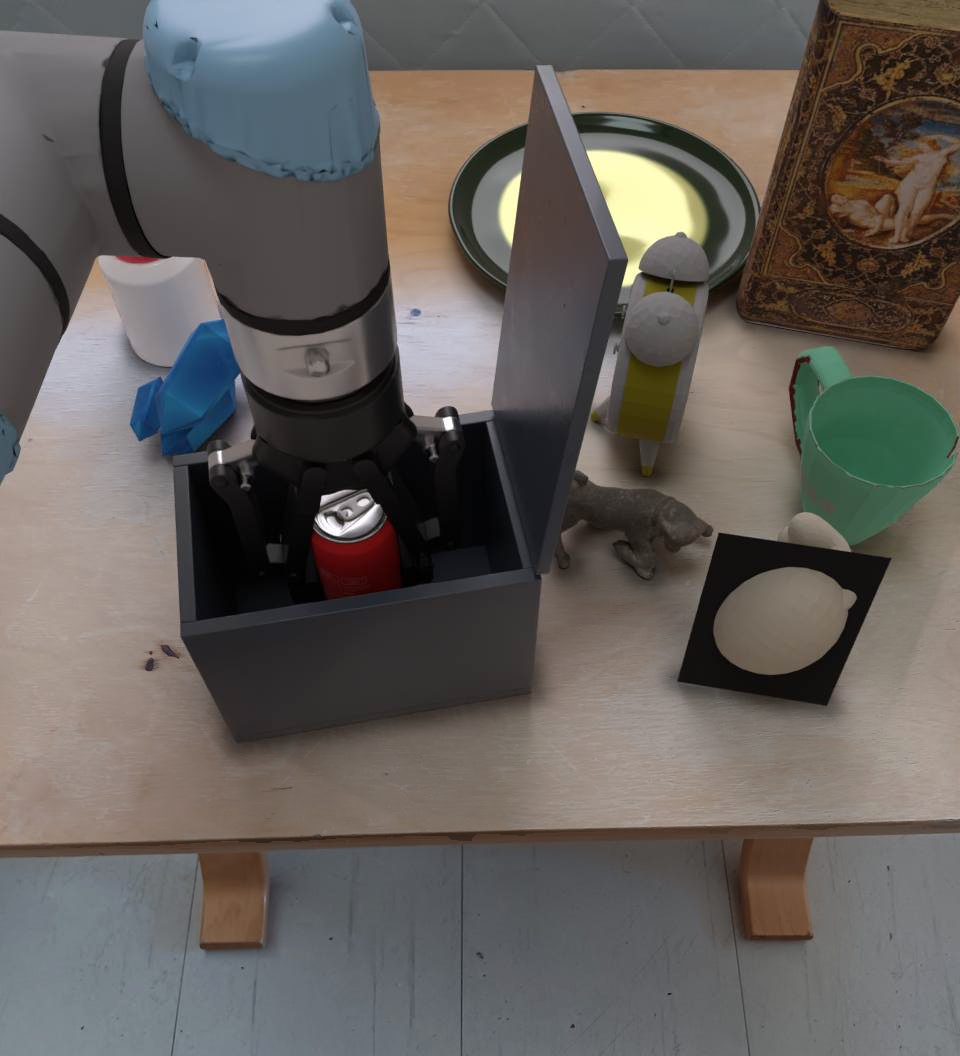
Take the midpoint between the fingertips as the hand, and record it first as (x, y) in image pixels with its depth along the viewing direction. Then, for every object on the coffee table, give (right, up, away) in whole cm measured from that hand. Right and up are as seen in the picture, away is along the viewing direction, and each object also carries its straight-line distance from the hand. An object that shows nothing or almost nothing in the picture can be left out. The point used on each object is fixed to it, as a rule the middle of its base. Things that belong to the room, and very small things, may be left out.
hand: (368, 611), depth 66 cm
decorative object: (+26, -2, +3) cm, 27 cm away
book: (+38, +26, +19) cm, 49 cm away
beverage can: (0, 0, +1) cm, 1 cm away
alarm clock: (+20, +15, +13) cm, 28 cm away
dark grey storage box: (0, -2, +3) cm, 3 cm away
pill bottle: (-18, +24, +18) cm, 35 cm away
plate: (+19, +36, +24) cm, 47 cm away
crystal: (-14, +15, +13) cm, 24 cm away
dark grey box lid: (+10, +12, -18) cm, 24 cm away
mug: (+33, +9, +9) cm, 36 cm away
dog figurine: (+18, +5, +7) cm, 20 cm away
